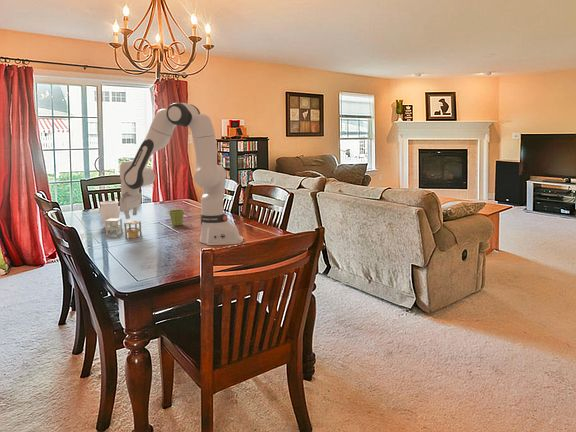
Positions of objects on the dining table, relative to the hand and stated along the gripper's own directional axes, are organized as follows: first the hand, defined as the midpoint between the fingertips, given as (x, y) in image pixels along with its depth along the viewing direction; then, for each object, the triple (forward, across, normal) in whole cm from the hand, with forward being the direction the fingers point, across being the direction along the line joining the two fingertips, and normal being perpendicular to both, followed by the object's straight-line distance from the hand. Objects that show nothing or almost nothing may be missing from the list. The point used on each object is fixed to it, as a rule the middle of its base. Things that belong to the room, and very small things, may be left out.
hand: (131, 216), depth 228 cm
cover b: (+11, +6, +12) cm, 18 cm away
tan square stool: (+11, 0, -1) cm, 11 cm away
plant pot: (+11, +30, -16) cm, 35 cm away
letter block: (+11, 0, -1) cm, 11 cm away
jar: (+12, +24, +22) cm, 35 cm away
